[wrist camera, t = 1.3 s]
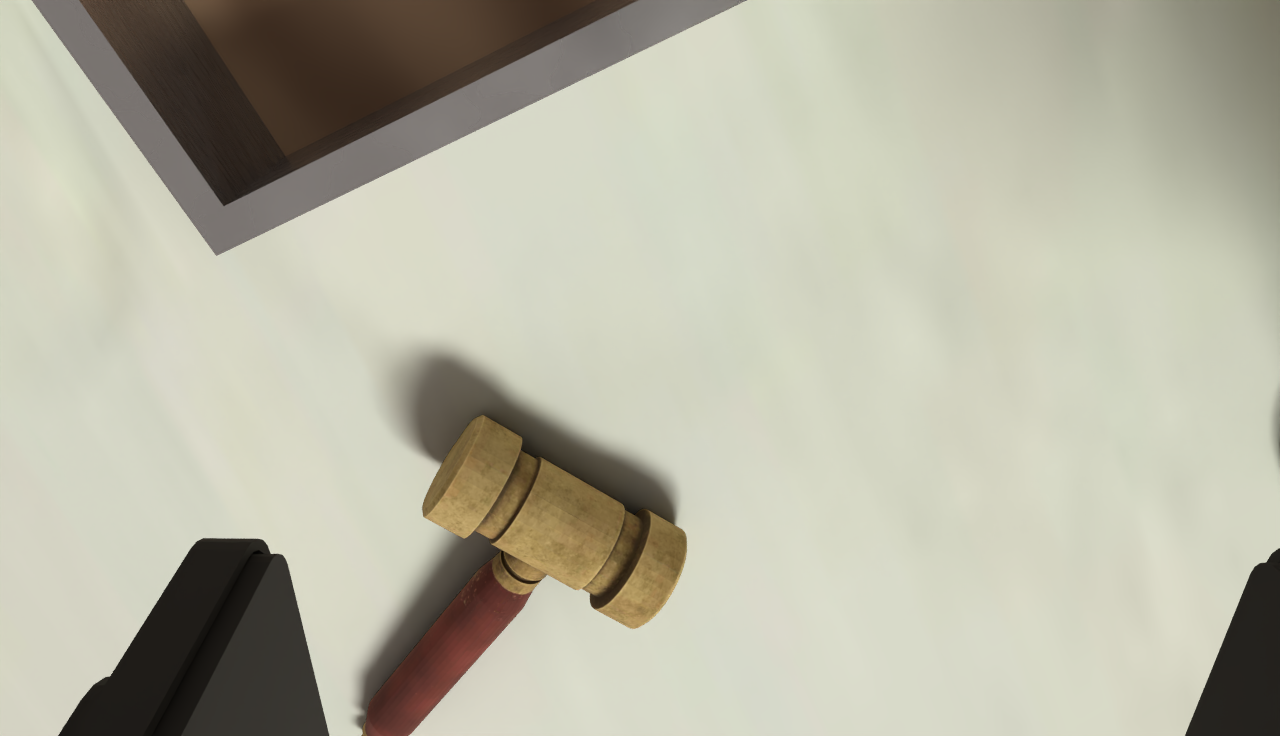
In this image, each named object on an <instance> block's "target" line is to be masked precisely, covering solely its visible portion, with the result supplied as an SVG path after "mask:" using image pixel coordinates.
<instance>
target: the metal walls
mask: <svg viewBox="0 0 1280 736" xmlns="http://www.w3.org/2000/svg"><path fill="white" fill-rule="evenodd" d="M32 1H33V3H34V4H35V5H36V7H37V8H38V10H39V11H40V12H41V14H42V15H43V16H44V18H45V19H46V21H47V22H48V23H49V25H50V26H51V28H52V29H53V30H54V32H55V33H56V34H57V36H58V37H59V39H60V40H61V41H62V43H63V44H64V46H65V47H66V48H67V50H68V51H69V52H70V54H71V55H72V57H73V58H74V59H75V61H76V62H77V64H78V65H79V66H80V68H81V69H82V70H83V72H84V73H85V75H86V76H87V77H88V79H89V80H90V82H91V83H92V84H93V86H94V87H95V88H96V90H97V91H98V93H99V94H100V95H101V97H102V98H103V100H104V101H105V102H106V104H107V105H108V106H109V108H110V109H111V111H112V112H113V113H114V115H115V116H116V118H117V119H118V120H119V122H120V123H121V124H122V126H123V127H124V129H125V130H126V131H127V133H128V134H129V136H130V137H131V138H132V140H133V141H134V142H135V144H136V145H137V147H138V148H139V149H140V151H141V152H142V154H143V155H144V156H145V158H146V159H147V160H148V162H149V163H150V165H151V166H152V167H153V169H154V170H155V172H156V173H157V174H158V176H159V177H160V178H161V180H162V181H163V183H164V184H165V185H166V187H167V188H168V190H169V191H170V192H171V194H172V195H173V196H174V198H175V199H176V201H177V202H178V203H179V205H180V206H181V208H182V209H183V210H184V212H185V213H186V214H187V216H188V217H189V219H190V220H191V221H192V223H193V224H194V226H195V227H196V228H197V230H198V231H199V232H200V234H201V235H202V237H203V238H204V239H205V241H206V242H207V244H208V245H209V246H210V248H211V249H212V250H213V252H214V253H215V255H216V256H217V255H219V254H221V253H223V252H225V251H227V250H230V249H232V248H234V247H236V246H238V245H240V244H242V243H244V242H246V241H248V240H250V239H252V238H254V237H257V236H259V235H261V234H263V233H265V232H267V231H269V230H271V229H273V228H275V227H277V226H279V225H281V224H284V223H286V222H288V221H290V220H292V219H294V218H296V217H298V216H300V215H302V214H304V213H306V212H308V211H310V210H313V209H315V208H317V207H319V206H321V205H323V204H325V203H327V202H329V201H331V200H333V199H335V198H337V197H340V196H342V195H344V194H346V193H348V192H350V191H352V190H354V189H356V188H358V187H360V186H362V185H364V184H367V183H369V182H371V181H373V180H375V179H377V178H379V177H381V176H383V175H385V174H387V173H389V172H391V171H393V170H396V169H398V168H400V167H402V166H404V165H406V164H408V163H410V162H412V161H414V160H416V159H418V158H420V157H423V156H425V155H427V154H429V153H431V152H433V151H435V150H437V149H439V148H441V147H443V146H445V145H447V144H450V143H452V142H454V141H456V140H458V139H460V138H462V137H464V136H466V135H468V134H470V133H472V132H474V131H476V130H479V129H481V128H483V127H485V126H487V125H489V124H491V123H493V122H495V121H497V120H499V119H501V118H503V117H506V116H508V115H510V114H512V113H514V112H516V111H518V110H520V109H522V108H524V107H526V106H528V105H530V104H533V103H535V102H537V101H539V100H541V99H543V98H545V97H547V96H549V95H551V94H553V93H555V92H557V91H559V90H562V89H564V88H566V87H568V86H570V85H572V84H574V83H576V82H578V81H580V80H582V79H584V78H586V77H589V76H591V75H593V74H595V73H597V72H599V71H601V70H603V69H605V68H607V67H609V66H611V65H613V64H616V63H618V62H620V61H622V60H624V59H626V58H628V57H630V56H632V55H634V54H636V53H638V52H640V51H643V50H645V49H647V48H649V47H651V46H653V45H655V44H657V43H659V42H661V41H663V40H665V39H667V38H669V37H672V36H674V35H676V34H678V33H680V32H682V31H684V30H686V29H688V28H690V27H692V26H694V25H696V24H699V23H701V22H703V21H705V20H707V19H709V18H711V17H713V16H715V15H717V14H719V13H721V12H723V11H726V10H728V9H730V8H732V7H734V6H736V5H738V4H740V3H742V2H744V1H746V0H596V1H594V2H592V3H590V4H588V5H586V6H584V7H582V8H580V9H578V10H576V11H574V12H572V13H570V14H568V15H566V16H564V17H562V18H560V19H558V20H556V21H554V22H552V23H550V24H548V25H546V26H544V27H542V28H540V29H538V30H536V31H534V32H532V33H530V34H528V35H526V36H524V37H522V38H520V39H518V40H516V41H514V42H512V43H510V44H508V45H506V46H504V47H502V48H500V49H498V50H496V51H494V52H492V53H490V54H488V55H486V56H484V57H482V58H480V59H478V60H476V61H474V62H472V63H470V64H468V65H466V66H464V67H463V68H461V69H459V70H457V71H455V72H453V73H451V74H449V75H447V76H445V77H443V78H441V79H439V80H437V81H435V82H433V83H431V84H429V85H427V86H425V87H423V88H421V89H419V90H417V91H415V92H413V93H411V94H409V95H407V96H405V97H403V98H401V99H399V100H397V101H395V102H393V103H391V104H389V105H387V106H385V107H383V108H381V109H379V110H377V111H375V112H373V113H371V114H369V115H367V116H365V117H363V118H361V119H359V120H357V121H355V122H353V123H351V124H349V125H347V126H345V127H343V128H341V129H339V130H337V131H335V132H333V133H331V134H329V135H327V136H325V137H323V138H321V139H319V140H317V141H315V142H313V143H311V144H309V145H307V146H305V147H303V148H301V149H299V150H298V151H296V152H294V153H292V154H290V155H288V156H285V155H284V153H283V152H282V150H281V148H280V147H279V145H278V144H277V142H276V141H275V139H274V138H273V136H272V135H271V133H270V132H269V130H268V129H267V127H266V126H265V124H264V122H263V121H262V119H261V118H260V116H259V115H258V113H257V112H256V110H255V109H254V107H253V106H252V104H251V103H250V101H249V100H248V98H247V97H246V95H245V93H244V92H243V90H242V89H241V87H240V86H239V84H238V83H237V81H236V80H235V78H234V77H233V75H232V74H231V72H230V71H229V69H228V67H227V66H226V64H225V63H224V61H223V60H222V58H221V57H220V55H219V54H218V52H217V51H216V49H215V48H214V46H213V45H212V43H211V41H210V40H209V38H208V37H207V35H206V34H205V32H204V31H203V29H202V28H201V26H200V25H199V23H198V22H197V20H196V19H195V17H194V16H193V14H192V12H191V11H190V9H189V8H188V6H187V5H186V3H185V2H184V0H32Z"/></svg>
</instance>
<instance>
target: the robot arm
mask: <svg viewBox="0 0 1280 736" xmlns="http://www.w3.org/2000/svg"><path fill="white" fill-rule="evenodd" d="M58 736H329V733H328V729H327V724H326V720H325V716H324V712H323V708H322V704H321V700H320V696H319V691H318V687H317V683H316V679H315V675H314V671H313V667H312V663H311V659H310V654H309V650H308V646H307V642H306V638H305V634H304V630H303V626H302V622H301V617H300V613H299V609H298V605H297V601H296V597H295V593H294V589H293V585H292V580H291V576H290V572H289V568H288V564H287V562H286V559H285V558H284V556H283V555H281V554H270V551H269V548H268V546H267V544H266V543H265V542H264V541H263V540H260V539H216V538H203V539H201V540H199V541H197V542H196V543H195V544H194V546H193V547H192V548H191V549H190V551H189V552H188V554H187V555H186V557H185V559H184V560H183V562H182V563H181V565H180V567H179V568H178V570H177V571H176V573H175V574H174V576H173V578H172V579H171V581H170V582H169V584H168V586H167V587H166V589H165V590H164V592H163V594H162V595H161V597H160V598H159V600H158V601H157V603H156V605H155V606H154V608H153V609H152V611H151V613H150V614H149V616H148V617H147V619H146V620H145V622H144V624H143V625H142V627H141V628H140V630H139V632H138V633H137V635H136V636H135V638H134V640H133V641H132V643H131V644H130V646H129V647H128V649H127V651H126V652H125V654H124V655H123V657H122V659H121V660H120V662H119V663H118V665H117V666H116V668H115V670H114V671H113V673H112V674H111V676H110V677H105V678H104V679H102V680H100V681H99V682H97V683H96V684H94V685H93V686H92V687H91V689H90V690H89V691H88V692H87V694H86V695H85V696H84V697H83V698H82V700H81V701H80V703H79V704H78V706H77V707H76V709H75V710H74V712H73V714H72V715H71V717H70V718H69V720H68V721H67V723H66V724H65V726H64V727H63V729H62V731H61V732H60V734H59V735H58ZM1185 736H1280V548H1279V549H1278V550H1276V551H1275V552H1273V553H1272V554H1271V556H1270V557H1269V559H1268V561H1267V562H1266V563H1260V564H1258V565H1257V566H1255V567H1254V569H1253V571H1252V572H1251V574H1250V576H1249V579H1248V581H1247V584H1246V586H1245V589H1244V591H1243V594H1242V596H1241V599H1240V601H1239V604H1238V606H1237V609H1236V611H1235V613H1234V616H1233V618H1232V621H1231V623H1230V626H1229V628H1228V631H1227V633H1226V636H1225V638H1224V641H1223V643H1222V646H1221V648H1220V651H1219V653H1218V655H1217V658H1216V660H1215V663H1214V665H1213V668H1212V670H1211V673H1210V675H1209V678H1208V680H1207V683H1206V685H1205V688H1204V690H1203V693H1202V695H1201V697H1200V700H1199V702H1198V705H1197V707H1196V710H1195V712H1194V715H1193V717H1192V720H1191V722H1190V725H1189V727H1188V730H1187V732H1186V735H1185Z"/></svg>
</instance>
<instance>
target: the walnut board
mask: <svg viewBox="0 0 1280 736" xmlns="http://www.w3.org/2000/svg"><path fill="white" fill-rule="evenodd" d="M594 1H596V0H184V2H185V3H186V5H187V6H188V8H189V9H190V11H191V12H192V14H193V16H194V17H195V19H196V20H197V22H198V23H199V25H200V26H201V28H202V29H203V31H204V32H205V34H206V35H207V37H208V38H209V40H210V41H211V43H212V45H213V46H214V48H215V49H216V51H217V52H218V54H219V55H220V57H221V58H222V60H223V61H224V63H225V64H226V66H227V67H228V69H229V71H230V72H231V74H232V75H233V77H234V78H235V80H236V81H237V83H238V84H239V86H240V87H241V89H242V90H243V92H244V93H245V95H246V97H247V98H248V100H249V101H250V103H251V104H252V106H253V107H254V109H255V110H256V112H257V113H258V115H259V116H260V118H261V119H262V121H263V122H264V124H265V126H266V127H267V129H268V130H269V132H270V133H271V135H272V136H273V138H274V139H275V141H276V142H277V144H278V145H279V147H280V148H281V150H282V152H283V153H284V155H285V156H288V155H290V154H292V153H294V152H296V151H298V150H299V149H301V148H303V147H305V146H307V145H309V144H311V143H313V142H315V141H317V140H319V139H321V138H323V137H325V136H327V135H329V134H331V133H333V132H335V131H337V130H339V129H341V128H343V127H345V126H347V125H349V124H351V123H353V122H355V121H357V120H359V119H361V118H363V117H365V116H367V115H369V114H371V113H373V112H375V111H377V110H379V109H381V108H383V107H385V106H387V105H389V104H391V103H393V102H395V101H397V100H399V99H401V98H403V97H405V96H407V95H409V94H411V93H413V92H415V91H417V90H419V89H421V88H423V87H425V86H427V85H429V84H431V83H433V82H435V81H437V80H439V79H441V78H443V77H445V76H447V75H449V74H451V73H453V72H455V71H457V70H459V69H461V68H463V67H464V66H466V65H468V64H470V63H472V62H474V61H476V60H478V59H480V58H482V57H484V56H486V55H488V54H490V53H492V52H494V51H496V50H498V49H500V48H502V47H504V46H506V45H508V44H510V43H512V42H514V41H516V40H518V39H520V38H522V37H524V36H526V35H528V34H530V33H532V32H534V31H536V30H538V29H540V28H542V27H544V26H546V25H548V24H550V23H552V22H554V21H556V20H558V19H560V18H562V17H564V16H566V15H568V14H570V13H572V12H574V11H576V10H578V9H580V8H582V7H584V6H586V5H588V4H590V3H592V2H594Z"/></svg>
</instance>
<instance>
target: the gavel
mask: <svg viewBox="0 0 1280 736" xmlns="http://www.w3.org/2000/svg"><path fill="white" fill-rule="evenodd" d="M521 446H522V437H521V436H519V435H517V434H515V433H514V432H512V431H510V430H508V429H507V428H505V427H503V426H501V425H500V424H498V423H496V422H495V421H493V420H491V419H489V418H488V417H486V416H484V415H481V416H479V417H477V418H475V419H473V420H472V421H471V422H470V423H469V424H468V426H467V427H466V429H465V430H464V432H463V433H462V434H461V436H460V437H459V439H458V440H457V441H456V443H455V444H454V446H453V447H452V449H451V450H450V452H449V453H448V455H447V457H446V458H445V460H444V462H443V463H442V465H441V467H440V469H439V470H438V472H437V474H436V476H435V478H434V480H433V482H432V484H431V486H430V488H429V490H428V492H427V494H426V497H425V499H424V502H423V507H422V510H423V516H424V517H425V518H426V519H428V520H430V521H432V522H434V523H436V524H438V525H439V526H441V527H443V528H445V529H447V530H449V531H451V532H452V533H454V534H456V535H458V536H460V537H462V538H466V537H468V536H469V535H470V534H471V533H472V532H473V531H474V530H475V531H476V532H478V533H480V534H482V535H484V536H486V537H487V538H489V541H490V544H492V545H494V546H495V547H497V548H499V549H501V551H500V552H499V553H498V554H497V555H496V556H495V557H494V558H493V559H491V560H490V561H489V562H487V563H486V564H485V565H484V566H482V567H481V568H480V569H479V570H478V571H477V572H476V573H475V574H474V576H473V577H472V578H471V579H470V580H469V582H468V583H467V584H466V585H465V587H464V588H463V589H462V590H461V591H460V593H459V594H458V595H457V596H456V597H455V599H454V600H453V601H452V602H451V604H450V605H449V606H448V607H447V608H446V610H445V611H444V612H443V613H442V614H441V616H440V617H439V618H438V619H437V620H436V622H435V623H434V624H433V625H432V627H431V628H430V629H429V630H428V631H427V633H426V634H425V635H424V636H423V637H422V639H421V640H420V641H419V642H418V644H417V645H416V646H415V647H414V648H413V650H412V651H411V652H410V653H409V654H408V656H407V657H406V658H405V659H404V661H403V662H402V663H401V664H400V665H399V667H398V668H397V669H396V670H395V671H394V673H393V674H392V675H391V676H390V678H389V679H388V680H387V681H386V682H385V684H384V685H383V686H382V687H381V688H380V690H379V691H378V692H377V693H376V694H375V696H374V697H373V698H372V699H371V701H370V703H369V707H368V712H367V718H366V722H365V723H364V725H363V734H362V736H408V735H410V734H411V733H412V732H413V731H414V730H415V729H416V727H417V726H418V725H419V724H420V723H421V722H422V721H423V720H424V718H425V717H426V716H427V715H428V714H429V713H430V712H431V711H432V709H433V708H434V707H435V706H436V705H437V704H438V703H439V702H440V701H441V699H442V698H443V697H444V696H445V695H446V694H447V693H448V692H449V690H450V689H451V688H452V687H453V686H454V685H455V684H456V683H457V682H458V680H459V679H460V678H461V677H462V676H463V675H464V674H465V673H466V671H467V670H468V669H469V668H470V667H471V666H472V665H473V664H474V662H475V661H476V660H477V659H478V658H479V657H480V656H481V655H482V654H483V652H484V651H485V650H486V649H487V648H488V647H489V646H490V645H491V643H492V642H493V641H494V640H495V639H496V638H497V637H498V636H499V634H500V633H501V632H502V631H503V630H504V629H505V628H506V627H507V626H508V624H509V623H510V622H511V621H512V620H513V619H514V618H515V617H516V615H517V614H518V613H519V612H520V611H521V610H522V608H523V607H524V606H525V604H526V602H527V600H528V598H529V596H530V595H531V593H532V591H533V589H534V588H535V587H536V586H537V585H538V583H539V582H540V581H541V580H542V579H543V578H544V577H546V575H549V576H551V577H553V578H555V579H556V580H558V581H560V582H562V583H564V584H566V585H567V586H569V587H571V588H573V589H575V590H579V589H583V590H585V591H587V592H589V593H590V603H591V606H592V607H593V608H594V609H595V610H597V611H599V612H601V613H603V614H605V615H606V616H608V617H610V618H612V619H614V620H616V621H618V622H619V623H621V624H623V625H625V626H627V627H629V628H632V629H635V628H638V627H640V626H642V625H644V624H645V623H647V622H648V621H650V620H651V619H652V618H653V617H654V616H655V615H656V614H657V613H658V612H659V611H660V610H661V608H662V607H663V606H664V604H665V603H666V602H667V600H668V599H669V597H670V595H671V594H672V592H673V590H674V588H675V586H676V584H677V582H678V580H679V578H680V575H681V573H682V570H683V567H684V563H685V559H686V553H687V538H686V534H685V532H684V531H683V530H682V529H680V528H679V527H677V526H675V525H673V524H672V523H670V522H668V521H666V520H665V519H663V518H661V517H659V516H658V515H656V514H654V513H652V512H651V511H649V510H647V509H641V510H639V511H638V512H637V513H636V514H635V515H633V514H631V513H630V512H628V511H626V510H625V509H624V506H623V504H622V503H620V502H618V501H616V500H615V499H613V498H611V497H609V496H608V495H606V494H604V493H602V492H601V491H599V490H597V489H595V488H594V487H592V486H590V485H588V484H587V483H585V482H583V481H581V480H580V479H578V478H576V477H575V476H573V475H571V474H569V473H568V472H566V471H564V470H562V469H561V468H559V467H557V466H555V465H554V464H552V463H550V462H548V461H547V460H545V459H543V458H541V457H536V458H533V457H532V456H530V455H528V454H526V453H525V452H523V451H521Z"/></svg>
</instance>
